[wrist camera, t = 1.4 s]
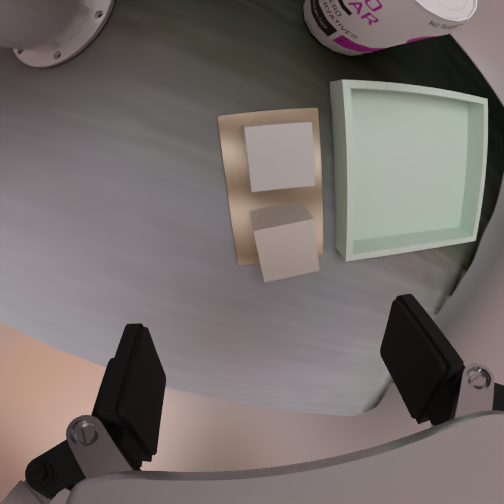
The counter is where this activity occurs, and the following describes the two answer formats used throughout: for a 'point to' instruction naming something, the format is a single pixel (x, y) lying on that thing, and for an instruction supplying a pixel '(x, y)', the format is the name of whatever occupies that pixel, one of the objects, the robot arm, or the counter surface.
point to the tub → (406, 167)
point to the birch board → (248, 200)
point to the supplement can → (382, 22)
